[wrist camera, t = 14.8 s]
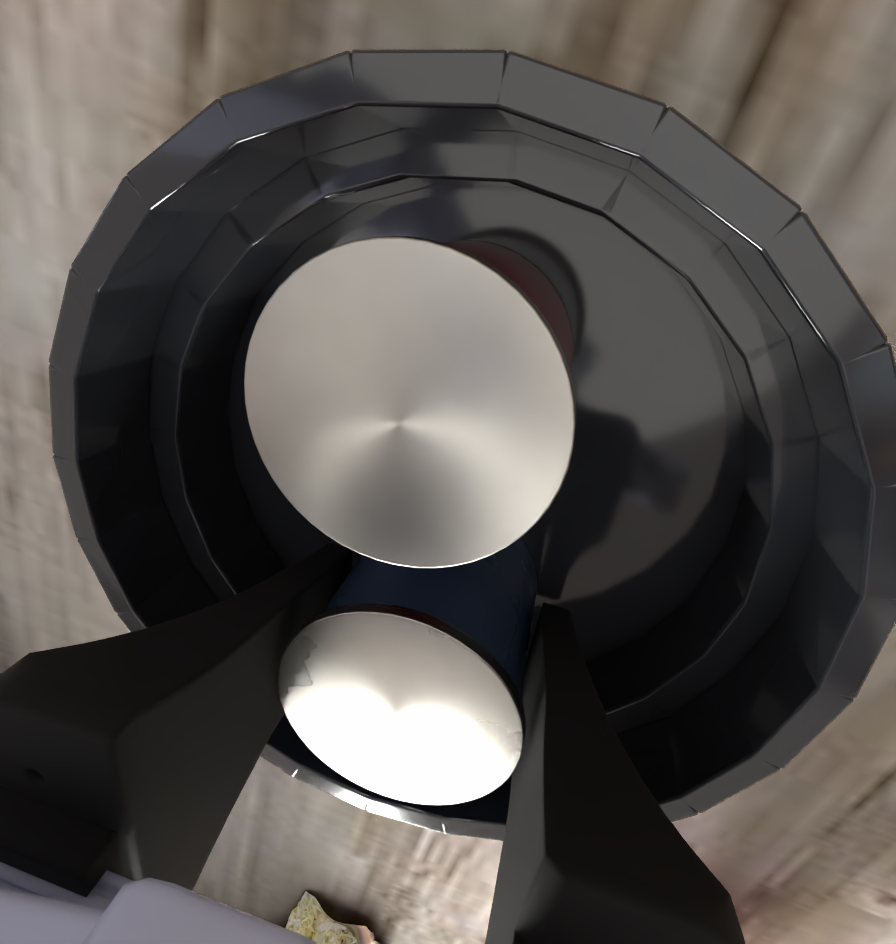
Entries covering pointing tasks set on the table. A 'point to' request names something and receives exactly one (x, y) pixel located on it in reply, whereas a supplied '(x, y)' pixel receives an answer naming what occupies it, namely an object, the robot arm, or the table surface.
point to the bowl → (593, 376)
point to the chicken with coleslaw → (325, 925)
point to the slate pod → (417, 676)
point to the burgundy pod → (415, 397)
